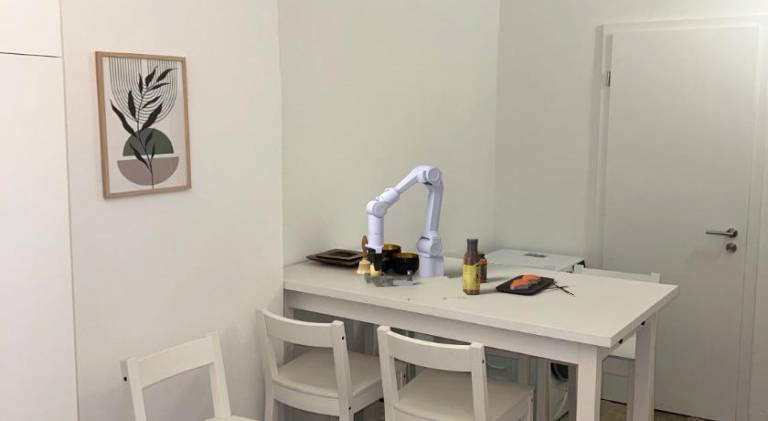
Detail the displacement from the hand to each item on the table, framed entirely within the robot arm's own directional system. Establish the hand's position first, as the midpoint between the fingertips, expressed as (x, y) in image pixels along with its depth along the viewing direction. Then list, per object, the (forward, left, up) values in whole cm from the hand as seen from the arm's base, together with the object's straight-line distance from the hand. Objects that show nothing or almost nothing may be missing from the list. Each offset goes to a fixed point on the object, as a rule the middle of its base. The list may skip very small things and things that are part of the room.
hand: (376, 268), depth 283 cm
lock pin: (-8, +8, -5) cm, 12 cm away
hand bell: (+2, -16, -6) cm, 17 cm away
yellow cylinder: (0, 0, -5) cm, 5 cm away
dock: (-4, +2, -6) cm, 8 cm away
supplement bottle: (-40, 0, -6) cm, 40 cm away
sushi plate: (-61, +15, -7) cm, 63 cm away
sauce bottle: (-32, +18, -6) cm, 37 cm away
